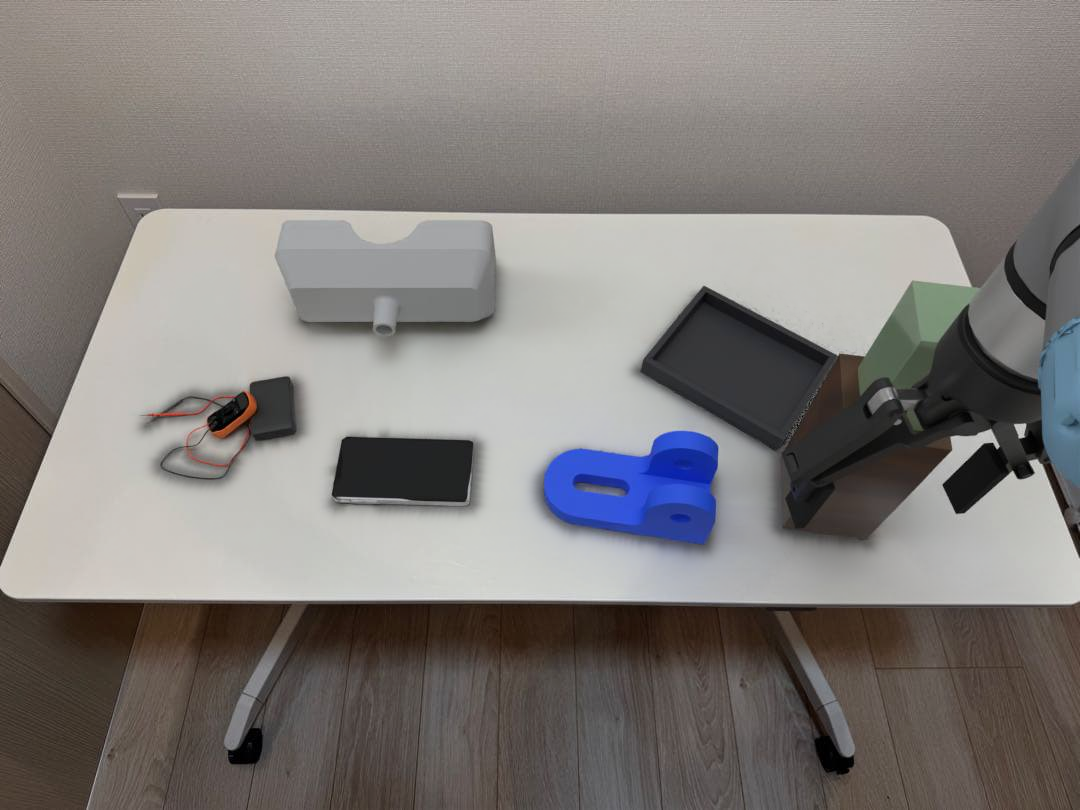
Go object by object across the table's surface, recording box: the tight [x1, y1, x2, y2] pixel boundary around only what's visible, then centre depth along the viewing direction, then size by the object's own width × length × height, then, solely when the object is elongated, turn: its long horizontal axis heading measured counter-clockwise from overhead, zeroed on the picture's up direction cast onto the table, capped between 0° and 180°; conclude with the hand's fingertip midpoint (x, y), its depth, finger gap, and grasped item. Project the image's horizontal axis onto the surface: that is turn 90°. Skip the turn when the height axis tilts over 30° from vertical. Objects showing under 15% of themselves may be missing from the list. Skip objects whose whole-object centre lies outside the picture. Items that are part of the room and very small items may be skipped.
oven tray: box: [640, 285, 839, 451], centre depth 93 cm, size 15×19×3 cm
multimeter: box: [138, 375, 296, 480], centre depth 87 cm, size 18×12×3 cm, turn 98°
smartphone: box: [331, 436, 475, 507], centre depth 86 cm, size 8×1×15 cm
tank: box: [274, 219, 497, 338], centre depth 93 cm, size 25×16×12 cm, turn 90°
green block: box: [858, 280, 981, 431], centre depth 63 cm, size 6×6×12 cm
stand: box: [780, 352, 953, 541], centre depth 77 cm, size 9×9×20 cm
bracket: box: [543, 430, 719, 545], centre depth 81 cm, size 18×8×9 cm, turn 81°
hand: (874, 506), depth 62 cm, fingers open, 13 cm apart
